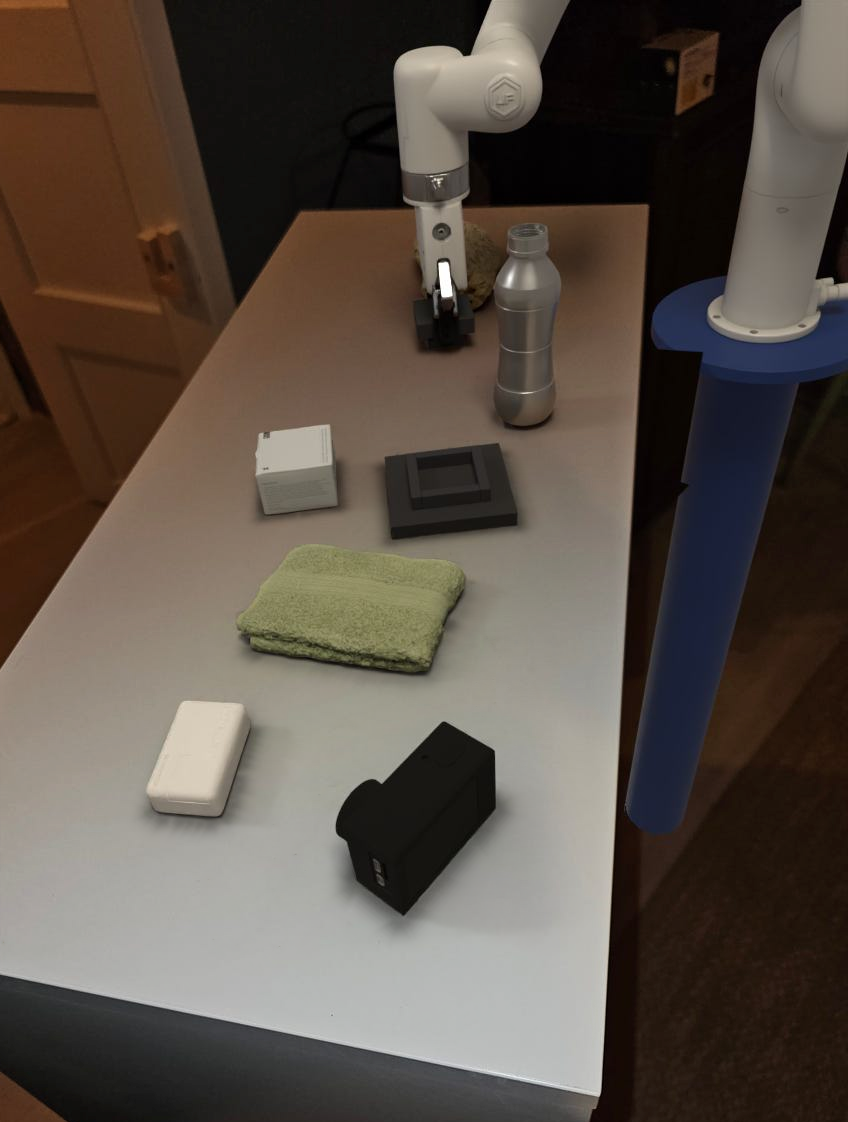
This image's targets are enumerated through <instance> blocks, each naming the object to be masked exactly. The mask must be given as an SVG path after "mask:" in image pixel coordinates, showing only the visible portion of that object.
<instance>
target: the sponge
mask: <svg viewBox="0 0 848 1122" xmlns="http://www.w3.org/2000/svg"><path fill="white" fill-rule="evenodd" d="M463 221H464V236H465V254H466V271H467V285H468V287H467V288H466V290H465V291H462V289H461V290H458V288H457V286H456V284H455V287H456V295H457V294H465V293H468V297H469V300H470V304H471V307H472V311H474V310H475V309H477V308H479V307H481V306H482V305H483V304H484V302H485V301H487V299H488V297H489V296H491V294H492V290H494V285H495V282H496V277H497V276H496V275H497V271H498V268H499V266H500V262H501V255H500V252H501V251H500V250H499V248H498V247H497V246H496V244H495V243H494V240H493V239H492V238H491V236H489V234H488V233H487V232H486V230H485V228H484V227H482V226H481V225H478V224H476V223H474V222H471V221H469V220H464V219H463ZM412 245H413V246H412V249H413V256H414V257H415V260H416V262H417V263H418V266H419V267H420V269H421V270H422V268H421V262H420V256H419V249H418V241H417V233H416V234H415V236H414V237H413V244H412ZM421 278H422V279H421V284H420V287H421V293H422V295H423V296H424V299H427V290H426V285H425V281H424V277H423V276H422V277H421Z"/></svg>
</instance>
